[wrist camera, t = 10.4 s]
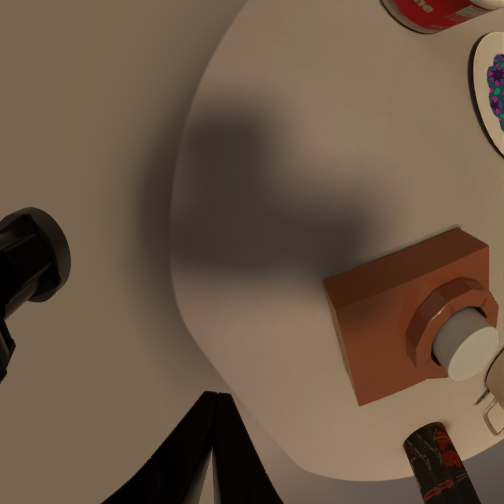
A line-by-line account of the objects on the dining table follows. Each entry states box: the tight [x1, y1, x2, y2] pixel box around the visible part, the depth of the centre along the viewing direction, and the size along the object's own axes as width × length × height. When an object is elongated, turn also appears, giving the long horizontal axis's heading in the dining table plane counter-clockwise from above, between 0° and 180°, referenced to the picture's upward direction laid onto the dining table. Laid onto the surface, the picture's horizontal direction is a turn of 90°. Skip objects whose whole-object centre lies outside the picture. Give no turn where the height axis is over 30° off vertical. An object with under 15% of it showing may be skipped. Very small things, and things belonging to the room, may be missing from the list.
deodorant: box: [404, 422, 481, 504], centre depth 23 cm, size 6×6×15 cm
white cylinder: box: [432, 308, 499, 382], centre depth 16 cm, size 4×4×2 cm
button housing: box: [322, 228, 498, 406], centre depth 20 cm, size 12×10×6 cm
